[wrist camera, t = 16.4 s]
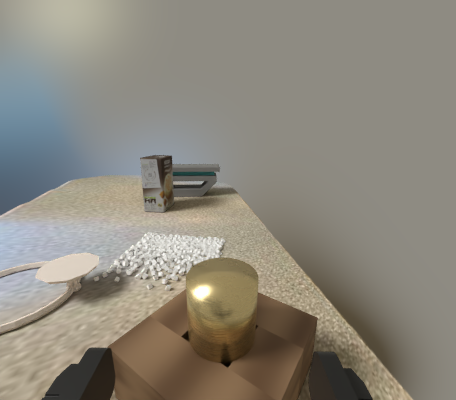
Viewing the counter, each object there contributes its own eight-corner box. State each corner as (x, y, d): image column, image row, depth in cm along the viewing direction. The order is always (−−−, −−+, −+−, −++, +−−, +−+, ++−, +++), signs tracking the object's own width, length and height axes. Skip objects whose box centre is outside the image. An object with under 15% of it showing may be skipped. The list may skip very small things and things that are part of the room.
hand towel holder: (-14, 248, 41) (113, 239, 45) (-7, 270, 43) (116, 260, 46) (-138, 323, 25) (76, 300, 29) (-121, 355, 27) (81, 330, 30)
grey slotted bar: (151, 197, 88) (148, 167, 84) (155, 191, 95) (153, 164, 92) (219, 196, 90) (219, 167, 87) (218, 191, 97) (218, 164, 94)
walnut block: (116, 397, 22) (107, 346, 21) (209, 309, 34) (209, 271, 32) (244, 535, 15) (248, 474, 13) (311, 363, 26) (317, 317, 24)
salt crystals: (228, 242, 55) (228, 236, 55) (210, 298, 36) (210, 289, 36) (145, 236, 58) (145, 229, 57) (89, 285, 39) (88, 276, 38)
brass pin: (176, 383, 23) (170, 281, 20) (215, 339, 28) (215, 251, 25) (230, 427, 20) (232, 312, 17) (263, 368, 25) (270, 271, 22)
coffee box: (164, 212, 72) (160, 158, 67) (144, 211, 72) (139, 158, 68) (174, 203, 80) (172, 155, 76) (156, 202, 81) (152, 154, 77)
